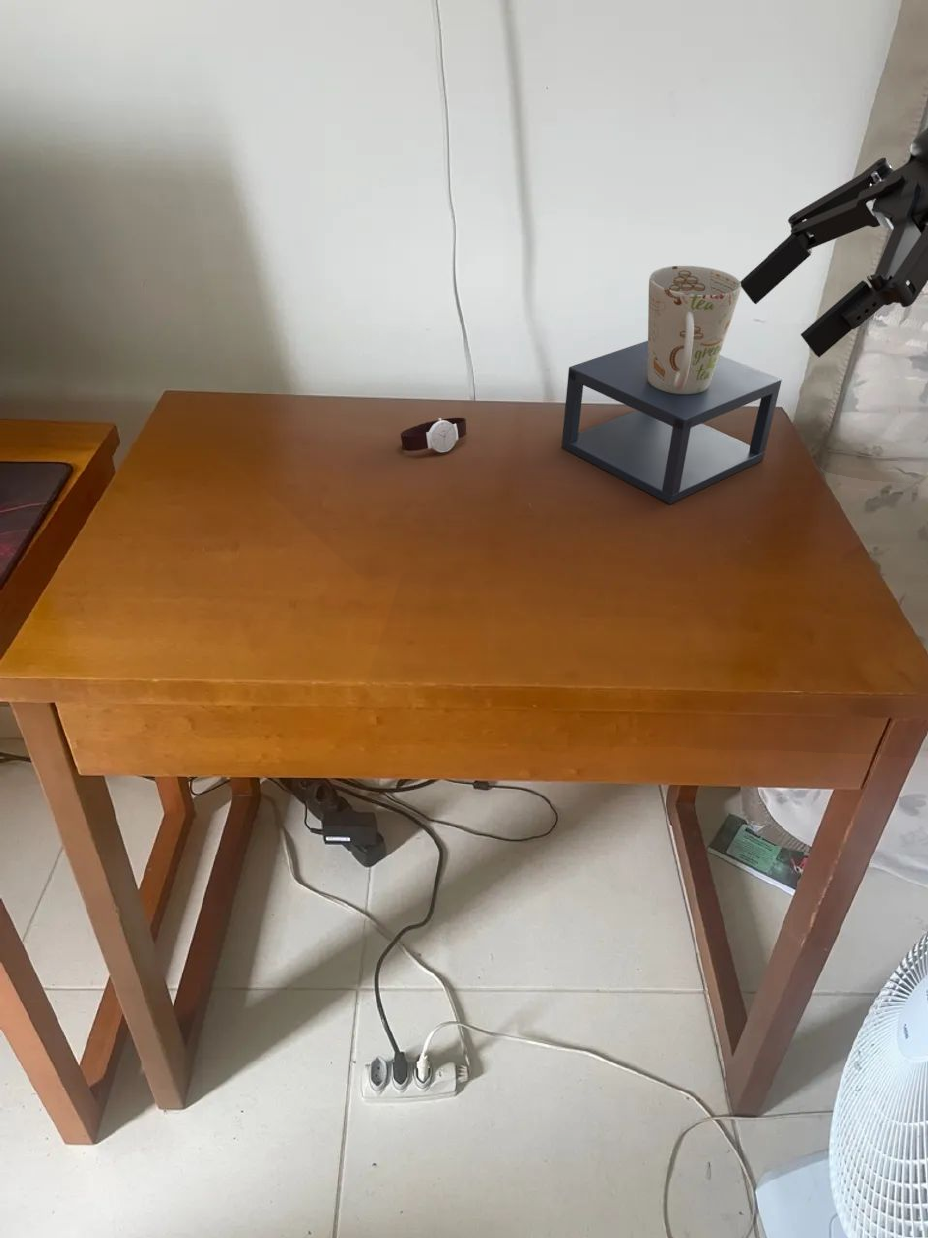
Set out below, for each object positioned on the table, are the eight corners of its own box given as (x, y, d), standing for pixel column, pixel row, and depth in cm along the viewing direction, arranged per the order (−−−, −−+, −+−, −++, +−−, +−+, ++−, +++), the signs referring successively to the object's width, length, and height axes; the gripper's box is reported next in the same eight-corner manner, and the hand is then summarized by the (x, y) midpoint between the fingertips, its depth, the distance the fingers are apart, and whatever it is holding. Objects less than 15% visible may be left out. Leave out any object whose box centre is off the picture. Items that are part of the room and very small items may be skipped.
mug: (718, 368, 99) (737, 268, 93) (727, 423, 89) (749, 315, 83) (635, 362, 100) (649, 262, 94) (635, 415, 90) (651, 308, 84)
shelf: (763, 460, 103) (782, 379, 98) (669, 504, 95) (684, 419, 90) (654, 410, 112) (666, 333, 107) (560, 447, 104) (568, 366, 99)
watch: (415, 464, 100) (415, 431, 98) (390, 446, 103) (390, 414, 101) (476, 445, 104) (477, 413, 102) (450, 428, 107) (451, 397, 105)
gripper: (1087, 212, 77) (861, 399, 84) (916, 143, 97) (743, 299, 104) (1053, 139, 73) (819, 342, 80) (882, 82, 93) (705, 249, 100)
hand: (776, 318), depth 92 cm, fingers open, 13 cm apart
